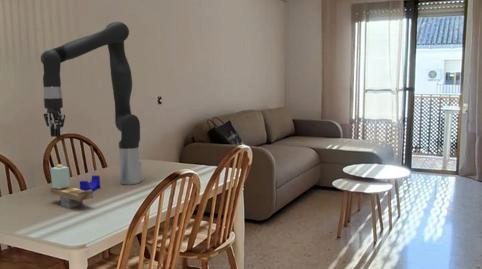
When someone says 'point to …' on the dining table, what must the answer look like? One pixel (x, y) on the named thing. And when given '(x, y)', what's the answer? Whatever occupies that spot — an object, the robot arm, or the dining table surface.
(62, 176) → the block
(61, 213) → the dining table surface
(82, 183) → the cable clip
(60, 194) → the beam
